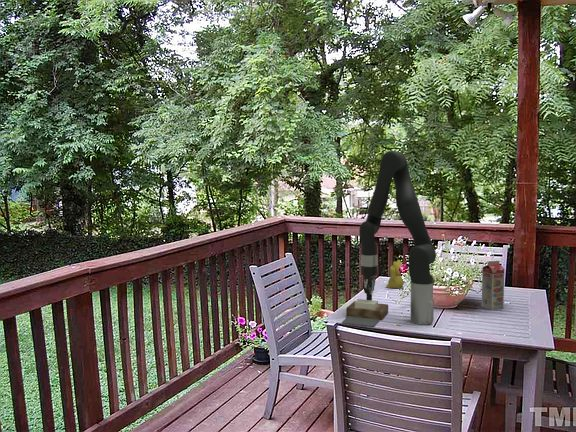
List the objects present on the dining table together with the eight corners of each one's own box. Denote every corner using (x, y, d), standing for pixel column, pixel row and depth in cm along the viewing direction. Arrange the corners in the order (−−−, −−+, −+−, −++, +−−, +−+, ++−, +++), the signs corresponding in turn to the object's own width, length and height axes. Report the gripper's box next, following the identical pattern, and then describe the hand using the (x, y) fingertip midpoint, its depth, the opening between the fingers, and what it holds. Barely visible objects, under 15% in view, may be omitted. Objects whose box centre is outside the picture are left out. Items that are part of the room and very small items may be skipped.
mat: (379, 320, 214) (379, 319, 214) (373, 327, 206) (373, 326, 206) (348, 317, 220) (348, 315, 220) (341, 323, 211) (341, 322, 211)
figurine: (392, 284, 279) (392, 258, 277) (407, 286, 273) (407, 259, 272) (383, 288, 269) (384, 261, 268) (399, 290, 264) (399, 263, 263)
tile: (378, 306, 222) (378, 300, 222) (374, 309, 217) (374, 304, 216) (358, 304, 226) (358, 299, 225) (354, 307, 220) (354, 302, 220)
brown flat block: (388, 313, 225) (388, 304, 225) (381, 320, 214) (381, 311, 214) (354, 309, 232) (354, 301, 231) (346, 316, 221) (346, 307, 220)
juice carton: (481, 306, 233) (482, 260, 231) (493, 304, 235) (494, 259, 233) (491, 310, 227) (492, 263, 224) (503, 308, 229) (504, 261, 227)
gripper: (373, 267, 216) (373, 306, 217) (381, 262, 228) (381, 298, 229) (356, 266, 219) (356, 304, 221) (365, 261, 231) (365, 297, 233)
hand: (369, 301), depth 225 cm, fingers closed
